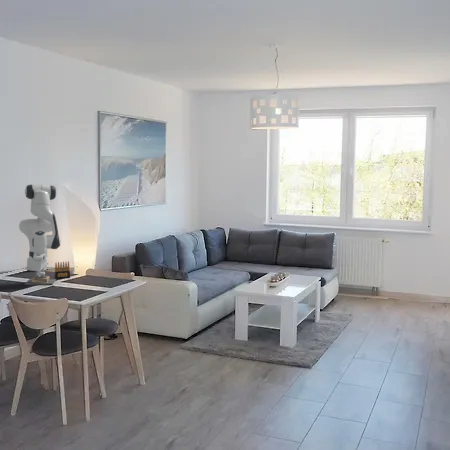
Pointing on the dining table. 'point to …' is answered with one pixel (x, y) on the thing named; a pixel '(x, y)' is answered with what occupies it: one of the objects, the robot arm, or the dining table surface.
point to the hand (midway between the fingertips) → (40, 275)
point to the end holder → (40, 281)
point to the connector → (41, 275)
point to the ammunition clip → (62, 270)
